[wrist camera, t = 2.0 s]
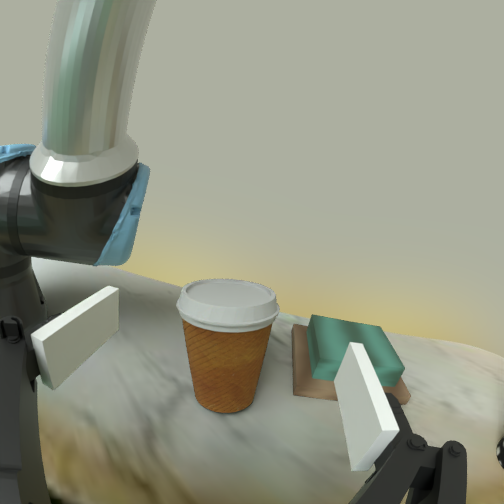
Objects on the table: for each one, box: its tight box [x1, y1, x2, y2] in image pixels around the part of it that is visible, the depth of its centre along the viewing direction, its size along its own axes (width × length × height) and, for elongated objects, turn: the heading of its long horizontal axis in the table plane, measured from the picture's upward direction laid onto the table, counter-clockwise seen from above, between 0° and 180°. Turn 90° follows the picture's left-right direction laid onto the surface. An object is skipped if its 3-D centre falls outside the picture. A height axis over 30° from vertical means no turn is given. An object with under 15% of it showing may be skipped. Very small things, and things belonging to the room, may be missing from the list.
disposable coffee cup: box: [177, 279, 280, 413], centre depth 27 cm, size 10×10×12 cm
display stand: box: [292, 315, 411, 404], centre depth 37 cm, size 16×16×5 cm
